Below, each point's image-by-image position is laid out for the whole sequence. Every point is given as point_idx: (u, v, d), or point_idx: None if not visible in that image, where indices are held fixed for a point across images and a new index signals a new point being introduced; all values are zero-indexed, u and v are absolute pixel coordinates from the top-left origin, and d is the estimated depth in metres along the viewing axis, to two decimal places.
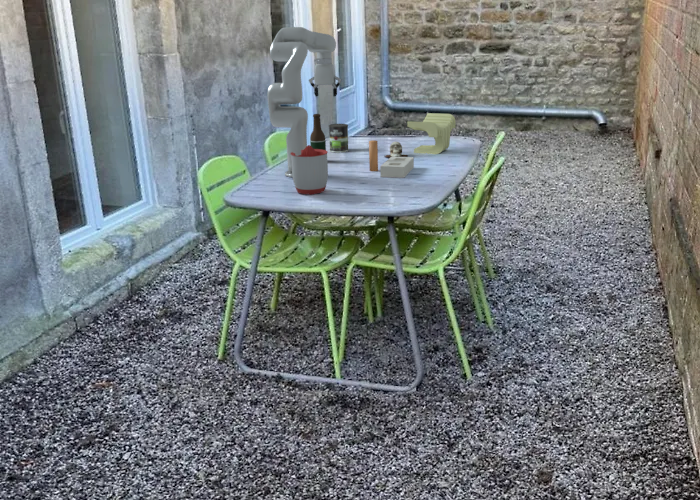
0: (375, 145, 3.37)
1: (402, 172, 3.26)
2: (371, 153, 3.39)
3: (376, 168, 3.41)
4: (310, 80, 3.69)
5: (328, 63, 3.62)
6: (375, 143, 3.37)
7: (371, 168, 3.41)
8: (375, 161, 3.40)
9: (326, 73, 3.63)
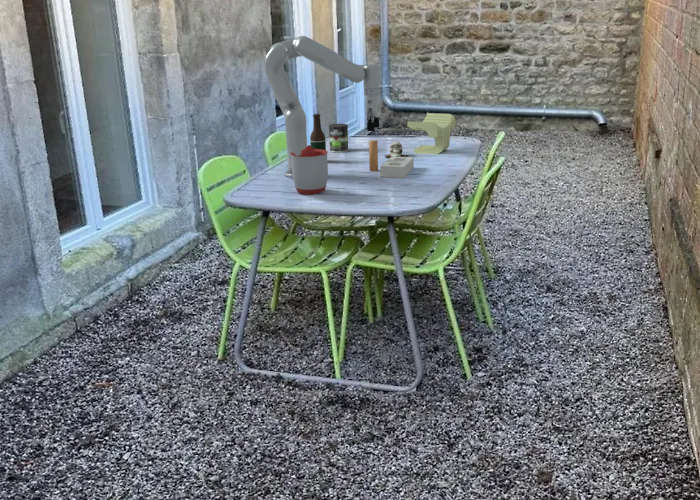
0: (375, 145, 3.37)
1: (402, 172, 3.26)
2: (371, 153, 3.39)
3: (376, 168, 3.41)
4: (369, 114, 3.27)
5: None
6: (375, 143, 3.37)
7: (371, 168, 3.41)
8: (375, 161, 3.40)
9: (379, 103, 3.34)
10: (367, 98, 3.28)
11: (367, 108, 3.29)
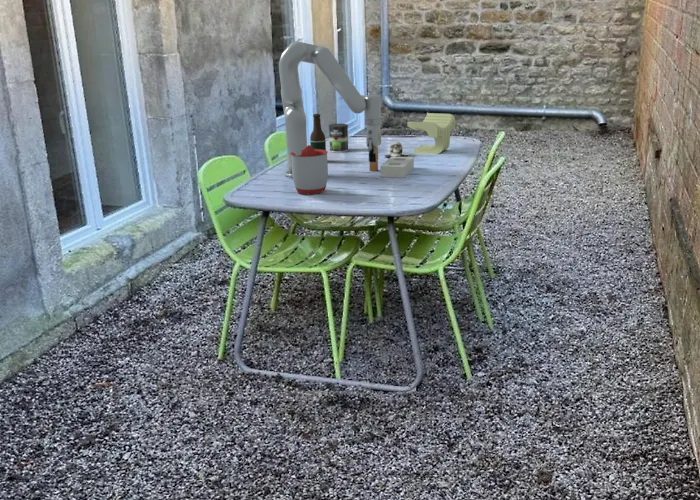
0: None
1: (402, 172, 3.26)
2: None
3: (376, 168, 3.41)
4: (371, 147, 3.33)
5: None
6: None
7: (371, 168, 3.41)
8: None
9: (379, 133, 3.38)
10: (368, 128, 3.33)
11: (367, 138, 3.34)
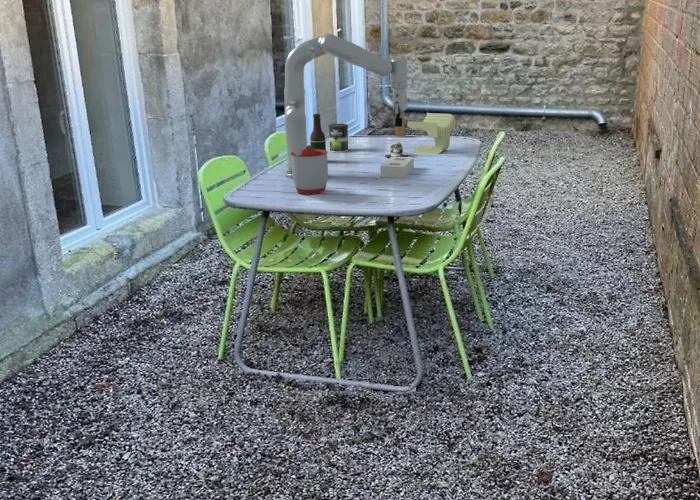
0: None
1: (402, 172, 3.26)
2: None
3: (402, 133, 3.36)
4: (398, 111, 3.28)
5: None
6: None
7: (397, 133, 3.36)
8: None
9: (406, 97, 3.33)
10: (394, 92, 3.27)
11: (394, 102, 3.28)
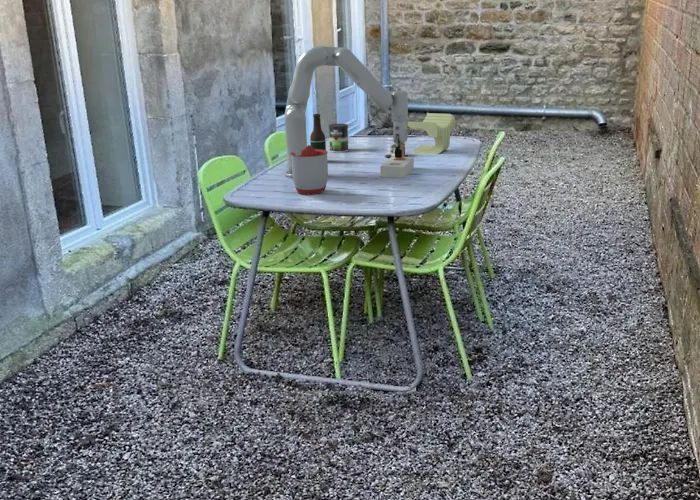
0: (402, 144, 3.37)
1: (402, 172, 3.26)
2: None
3: None
4: (397, 142, 3.32)
5: None
6: None
7: None
8: None
9: (406, 129, 3.38)
10: (395, 124, 3.32)
11: (394, 134, 3.33)
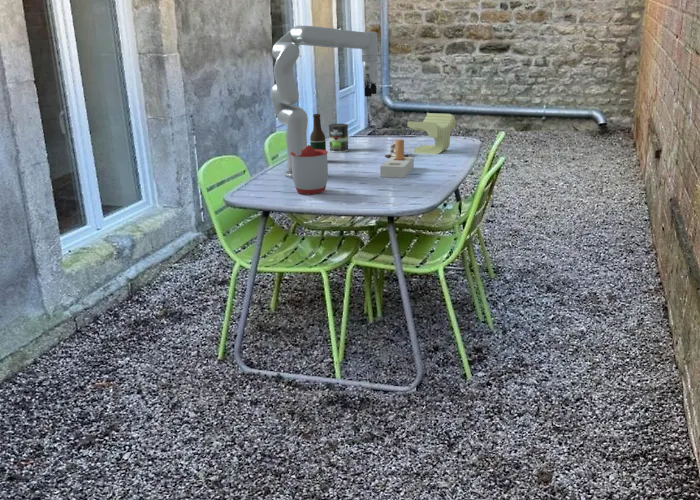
0: (402, 144, 3.37)
1: (402, 172, 3.26)
2: (398, 152, 3.39)
3: None
4: (367, 80, 3.39)
5: None
6: (402, 142, 3.37)
7: None
8: None
9: (376, 70, 3.45)
10: (365, 64, 3.40)
11: (365, 74, 3.41)
